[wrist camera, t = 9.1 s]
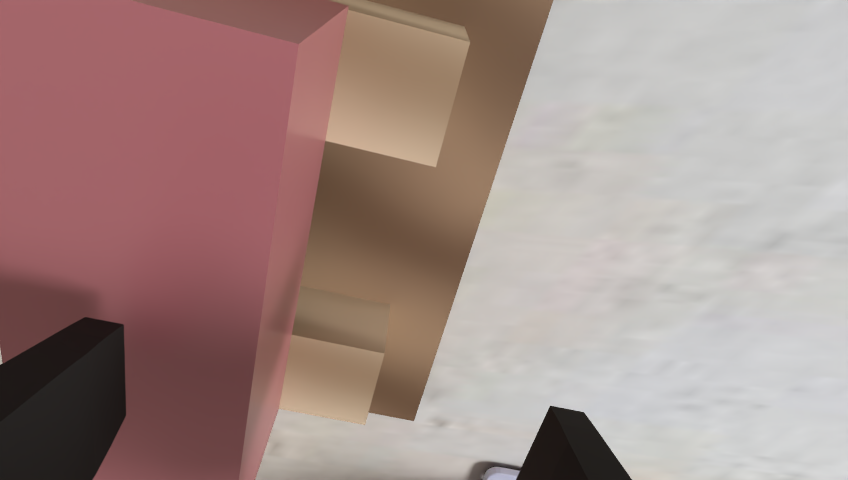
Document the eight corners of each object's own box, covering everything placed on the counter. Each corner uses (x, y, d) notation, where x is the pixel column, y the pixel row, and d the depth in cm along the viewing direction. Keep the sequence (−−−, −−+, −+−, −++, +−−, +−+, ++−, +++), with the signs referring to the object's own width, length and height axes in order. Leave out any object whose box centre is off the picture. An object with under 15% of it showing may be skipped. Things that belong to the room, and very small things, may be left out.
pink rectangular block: (279, 406, 17) (227, 564, 13) (132, 378, 17) (26, 532, 13) (349, 5, 12) (298, 44, 7) (132, -53, 11) (-56, -49, 7)
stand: (415, 392, 22) (411, 476, 19) (53, 321, 21) (-23, 398, 17) (553, -39, 15) (590, -32, 11) (9, -194, 14) (-139, -241, 10)
